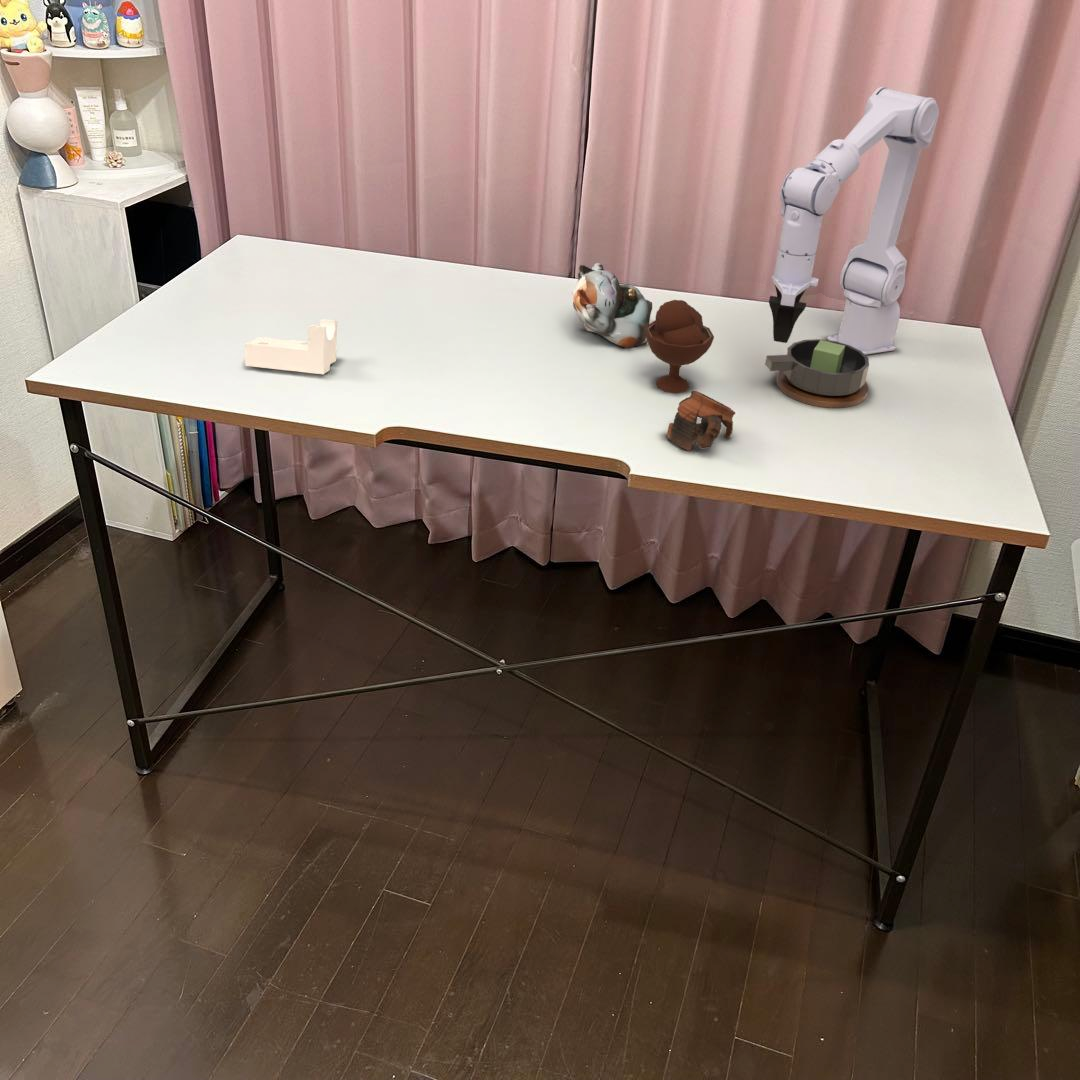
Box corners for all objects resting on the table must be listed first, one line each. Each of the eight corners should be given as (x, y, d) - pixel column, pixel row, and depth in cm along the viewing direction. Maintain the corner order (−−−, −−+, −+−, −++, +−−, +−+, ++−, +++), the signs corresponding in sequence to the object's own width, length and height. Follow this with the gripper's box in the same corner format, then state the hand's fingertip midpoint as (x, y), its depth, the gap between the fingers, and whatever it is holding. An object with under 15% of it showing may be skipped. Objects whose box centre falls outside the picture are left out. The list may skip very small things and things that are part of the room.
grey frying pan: (843, 361, 196) (848, 337, 193) (876, 396, 185) (882, 372, 183) (750, 365, 192) (754, 341, 190) (779, 401, 182) (784, 377, 179)
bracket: (336, 366, 189) (337, 320, 186) (323, 374, 182) (324, 327, 180) (260, 358, 190) (260, 312, 188) (244, 365, 183) (244, 318, 181)
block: (808, 376, 188) (813, 348, 185) (814, 367, 191) (820, 339, 188) (833, 382, 186) (839, 354, 184) (839, 373, 189) (845, 345, 187)
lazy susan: (832, 362, 198) (833, 357, 198) (885, 400, 187) (887, 395, 186) (759, 373, 193) (760, 368, 192) (809, 413, 182) (810, 408, 181)
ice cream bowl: (703, 404, 182) (716, 317, 174) (634, 394, 184) (644, 307, 175) (708, 376, 191) (721, 291, 183) (643, 367, 193) (652, 283, 184)
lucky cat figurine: (648, 353, 197) (619, 290, 188) (585, 366, 202) (554, 306, 193) (660, 299, 206) (633, 237, 197) (600, 313, 211) (570, 252, 202)
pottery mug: (654, 429, 176) (678, 381, 174) (704, 453, 179) (729, 406, 177) (679, 449, 164) (706, 398, 163) (732, 474, 168) (759, 424, 166)
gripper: (821, 269, 168) (804, 353, 176) (825, 237, 180) (809, 318, 187) (773, 263, 169) (759, 346, 177) (780, 231, 181) (766, 311, 188)
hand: (782, 331), depth 182 cm, fingers open, 7 cm apart
